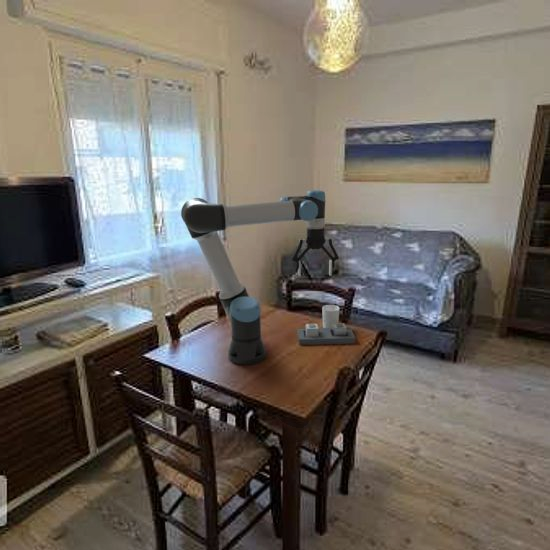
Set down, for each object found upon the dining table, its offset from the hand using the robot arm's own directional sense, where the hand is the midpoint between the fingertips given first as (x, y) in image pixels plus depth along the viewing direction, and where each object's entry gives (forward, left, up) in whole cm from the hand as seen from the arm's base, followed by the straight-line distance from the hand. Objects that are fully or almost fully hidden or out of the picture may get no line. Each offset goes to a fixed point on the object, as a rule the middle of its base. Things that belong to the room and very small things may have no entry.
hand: (314, 275), depth 176 cm
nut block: (+10, -8, -27) cm, 30 cm away
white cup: (+8, +3, -27) cm, 28 cm away
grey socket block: (+4, -8, -27) cm, 28 cm away
